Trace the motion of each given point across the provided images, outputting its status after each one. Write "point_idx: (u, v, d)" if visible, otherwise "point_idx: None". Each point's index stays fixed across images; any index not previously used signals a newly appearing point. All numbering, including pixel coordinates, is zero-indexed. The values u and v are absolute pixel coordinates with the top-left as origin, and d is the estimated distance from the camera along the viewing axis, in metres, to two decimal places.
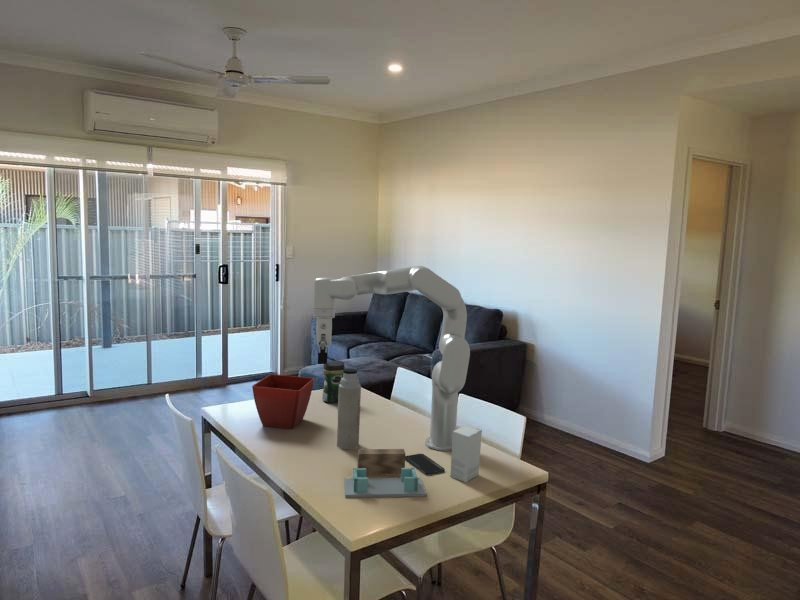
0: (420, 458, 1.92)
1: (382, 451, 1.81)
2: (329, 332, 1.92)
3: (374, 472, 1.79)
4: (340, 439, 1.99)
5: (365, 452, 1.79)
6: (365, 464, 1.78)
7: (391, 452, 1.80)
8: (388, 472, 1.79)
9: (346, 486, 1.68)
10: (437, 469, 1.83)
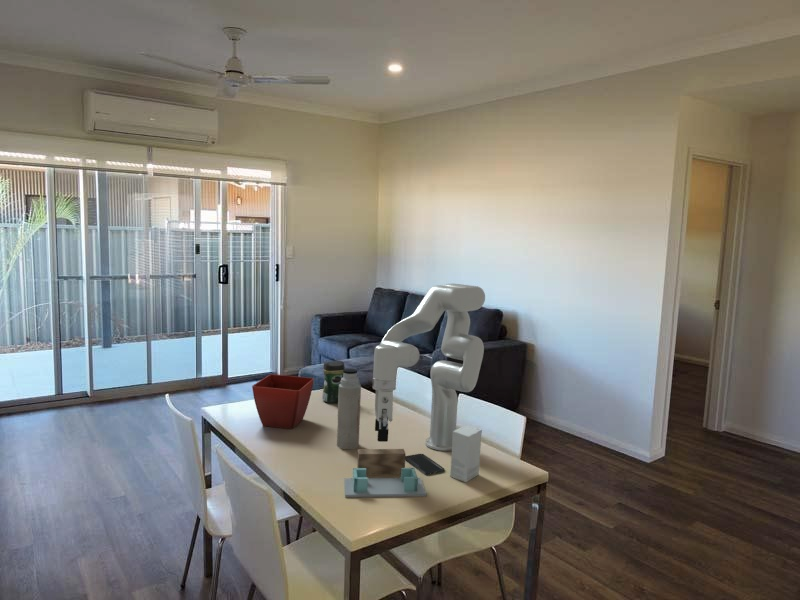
0: (420, 458, 1.92)
1: (382, 451, 1.81)
2: (391, 406, 1.74)
3: (374, 472, 1.79)
4: (340, 439, 1.99)
5: (365, 452, 1.79)
6: (365, 464, 1.78)
7: (391, 452, 1.80)
8: (388, 472, 1.79)
9: (346, 486, 1.68)
10: (437, 469, 1.83)
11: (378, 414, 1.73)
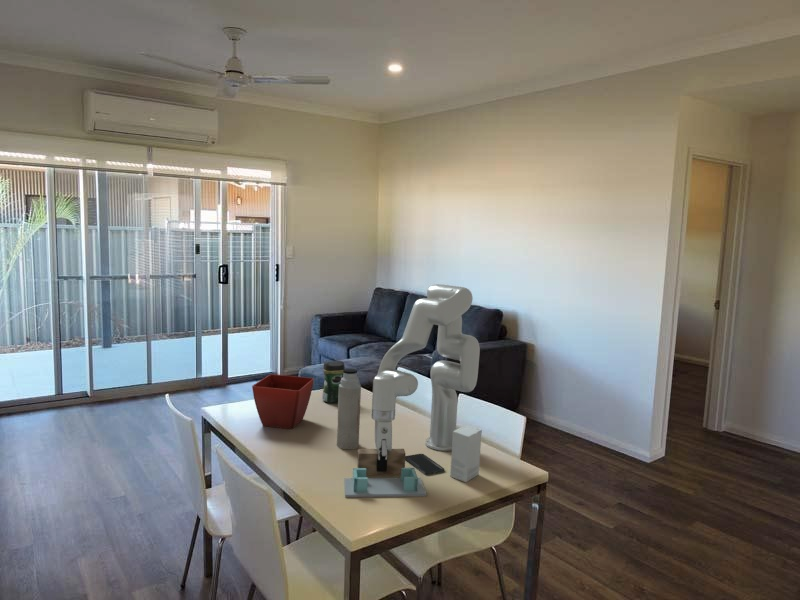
0: (420, 458, 1.92)
1: None
2: (390, 437, 1.75)
3: (374, 472, 1.79)
4: (340, 439, 1.99)
5: (365, 452, 1.79)
6: (365, 464, 1.78)
7: (391, 452, 1.80)
8: (388, 472, 1.79)
9: (346, 486, 1.68)
10: (437, 469, 1.83)
11: (378, 444, 1.75)
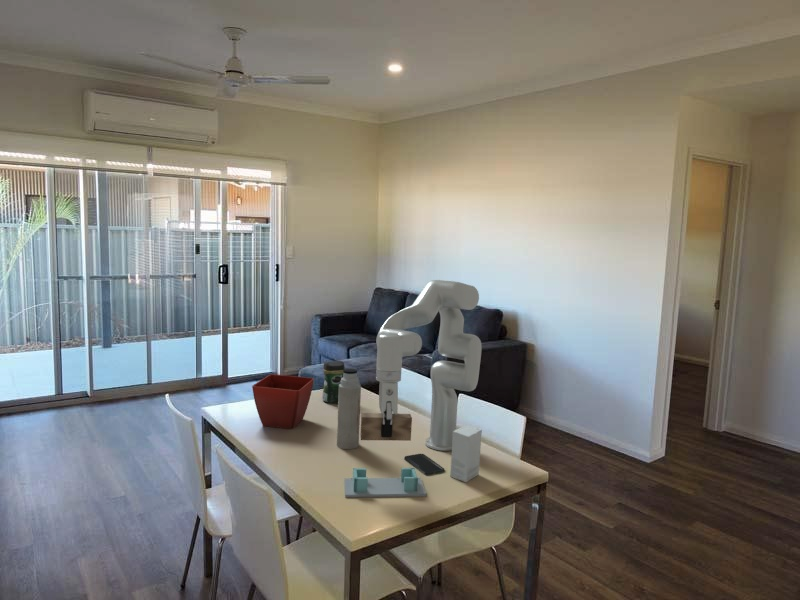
0: (420, 458, 1.92)
1: None
2: (396, 399, 1.63)
3: (378, 437, 1.67)
4: (340, 439, 1.99)
5: (369, 416, 1.67)
6: (368, 428, 1.66)
7: (397, 416, 1.68)
8: (393, 437, 1.67)
9: (346, 486, 1.68)
10: (437, 469, 1.83)
11: (382, 407, 1.63)
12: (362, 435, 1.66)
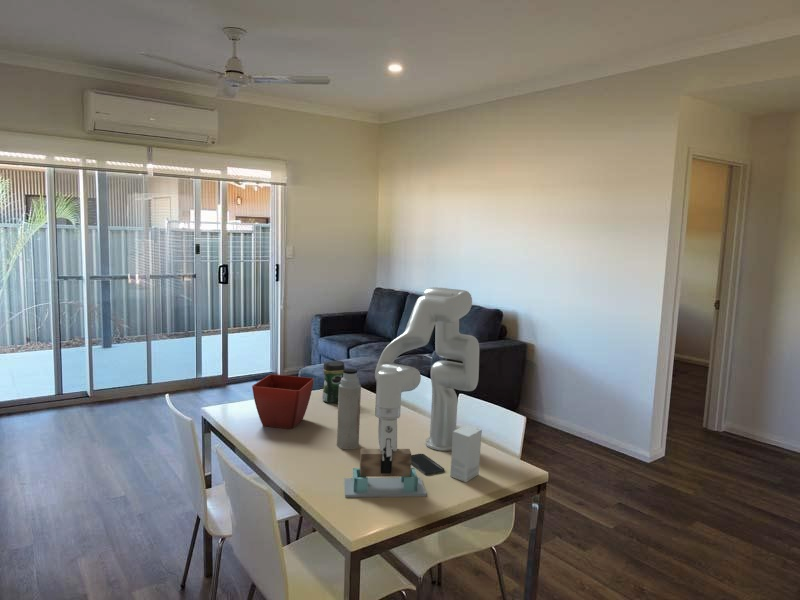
0: (420, 458, 1.92)
1: None
2: (395, 436, 1.63)
3: (378, 473, 1.66)
4: (340, 439, 1.99)
5: (368, 452, 1.67)
6: (368, 465, 1.66)
7: (396, 452, 1.67)
8: (393, 474, 1.67)
9: (346, 486, 1.68)
10: (437, 469, 1.83)
11: (382, 444, 1.63)
12: (362, 472, 1.66)
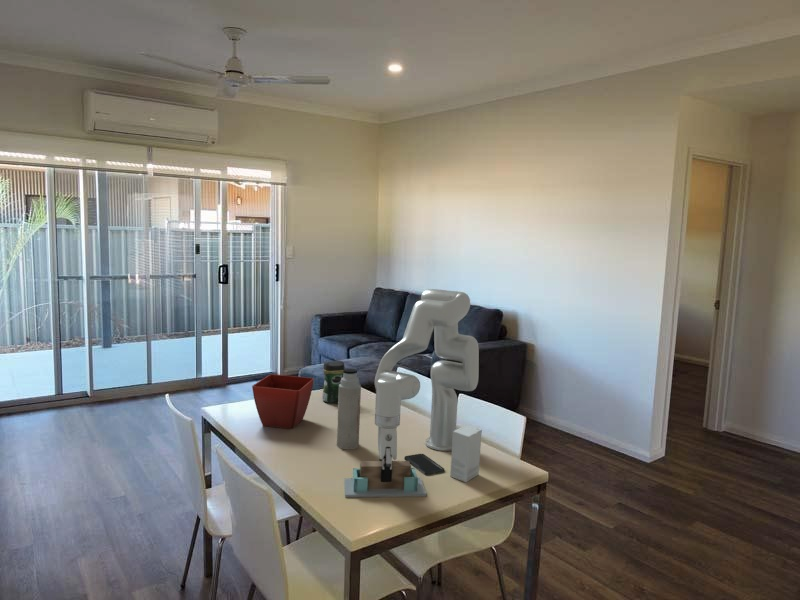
0: (420, 458, 1.92)
1: None
2: (395, 444, 1.63)
3: (377, 486, 1.67)
4: (340, 439, 1.99)
5: (368, 464, 1.67)
6: None
7: (396, 464, 1.68)
8: (392, 486, 1.68)
9: (346, 486, 1.68)
10: (437, 469, 1.83)
11: (381, 453, 1.63)
12: None
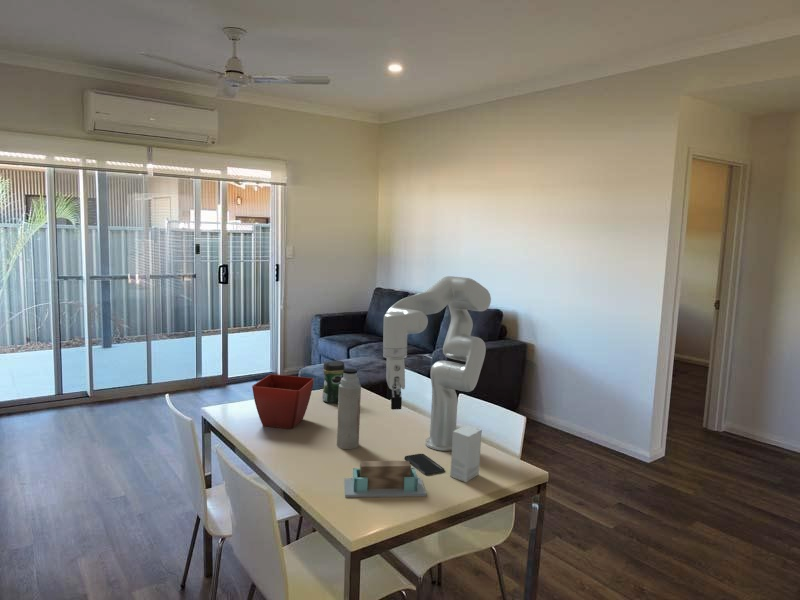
0: (420, 458, 1.92)
1: (386, 463, 1.69)
2: (403, 374, 1.72)
3: (377, 486, 1.67)
4: (340, 439, 1.99)
5: (368, 464, 1.67)
6: None
7: (396, 464, 1.68)
8: (392, 486, 1.68)
9: (346, 486, 1.68)
10: (437, 469, 1.83)
11: (391, 382, 1.72)
12: None
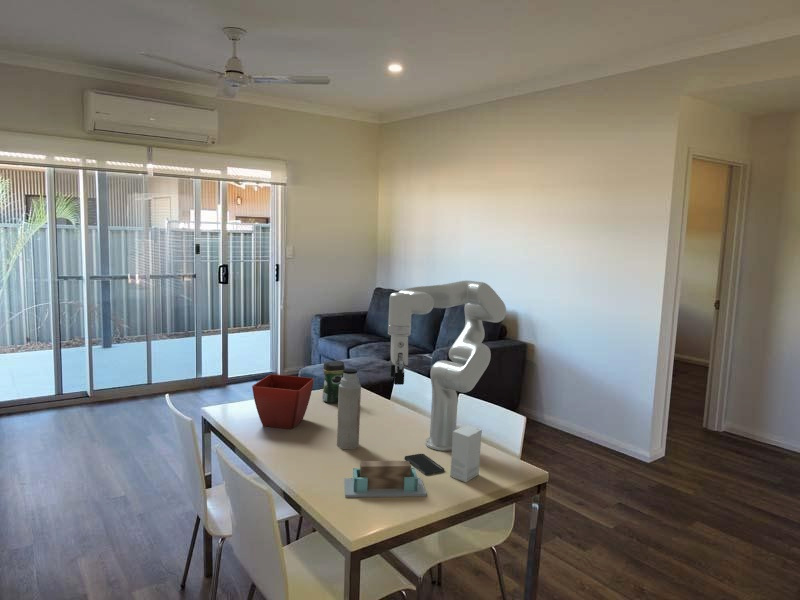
0: (420, 458, 1.92)
1: (386, 463, 1.69)
2: (406, 351, 1.81)
3: (377, 486, 1.67)
4: (340, 439, 1.99)
5: (368, 464, 1.67)
6: None
7: (396, 464, 1.68)
8: (392, 486, 1.68)
9: (346, 486, 1.68)
10: (437, 469, 1.83)
11: (394, 358, 1.80)
12: None
